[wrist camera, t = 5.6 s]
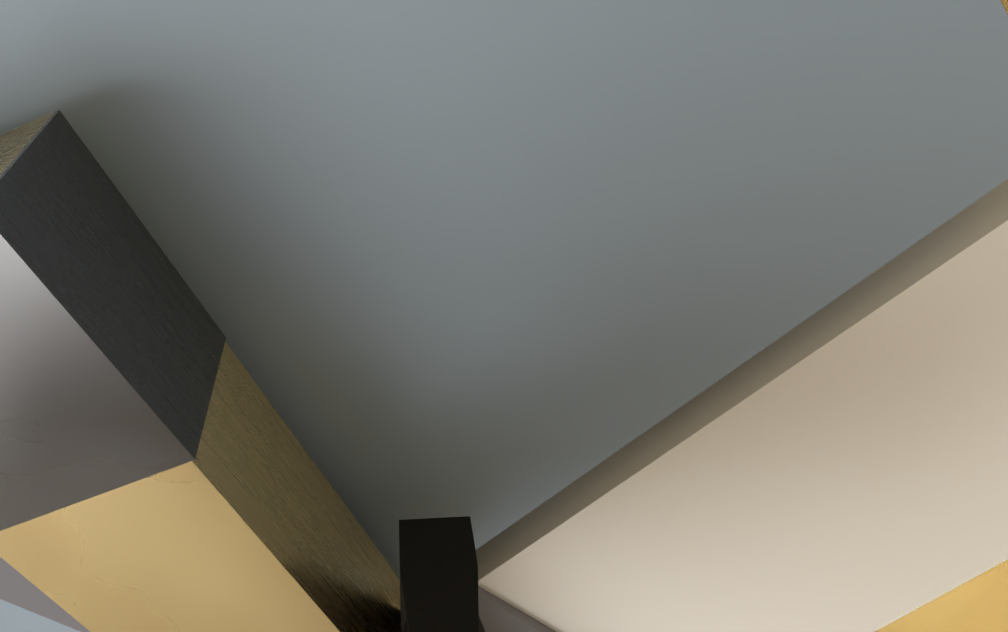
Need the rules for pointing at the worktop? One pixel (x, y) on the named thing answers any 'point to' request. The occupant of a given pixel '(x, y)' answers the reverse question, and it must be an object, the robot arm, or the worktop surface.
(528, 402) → the door panel
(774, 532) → the jamb plate
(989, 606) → the worktop surface
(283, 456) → the swing bar
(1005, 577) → the worktop surface
